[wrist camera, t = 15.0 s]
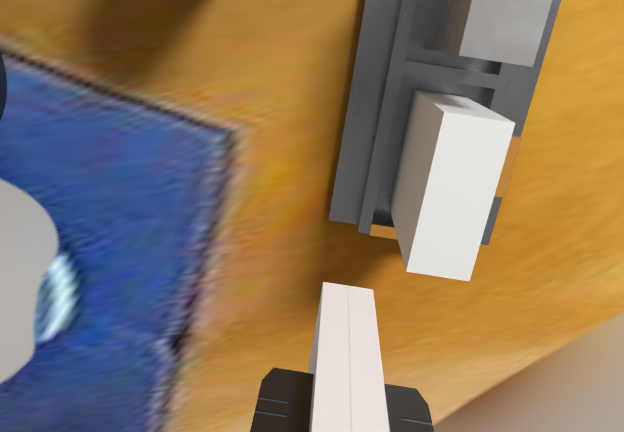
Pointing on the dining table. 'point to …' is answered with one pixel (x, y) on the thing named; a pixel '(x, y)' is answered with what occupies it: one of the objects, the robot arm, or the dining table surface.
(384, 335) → the dining table surface
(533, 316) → the dining table surface
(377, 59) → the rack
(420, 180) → the block
